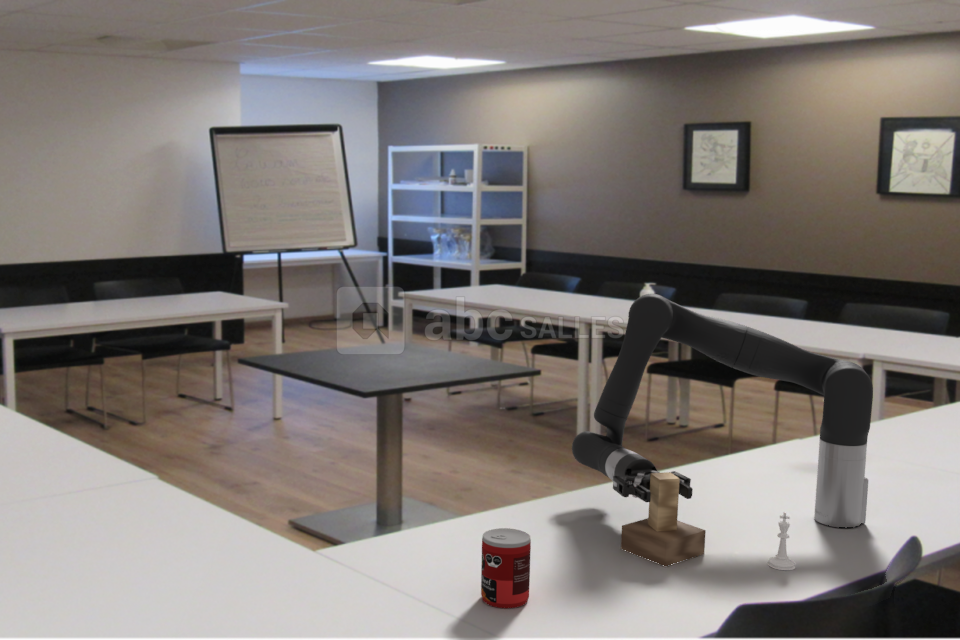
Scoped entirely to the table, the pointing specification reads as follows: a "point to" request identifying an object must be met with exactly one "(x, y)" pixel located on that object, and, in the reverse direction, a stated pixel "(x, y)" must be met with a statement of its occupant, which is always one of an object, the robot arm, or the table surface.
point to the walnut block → (663, 542)
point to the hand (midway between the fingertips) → (669, 495)
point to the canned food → (505, 567)
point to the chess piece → (782, 548)
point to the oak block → (663, 501)
